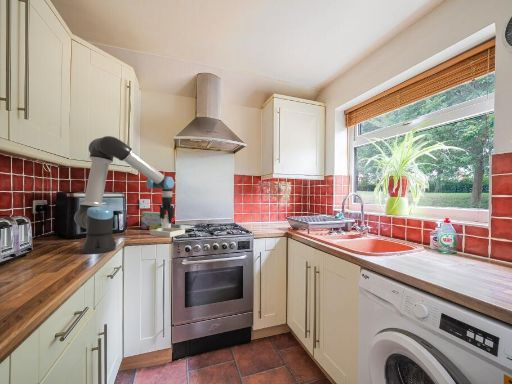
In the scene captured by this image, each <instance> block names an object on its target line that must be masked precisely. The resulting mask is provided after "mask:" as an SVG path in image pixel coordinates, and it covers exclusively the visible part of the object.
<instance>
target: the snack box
mask: <svg viewBox="0 0 512 384" xmlns="http://www.w3.org/2000/svg"><path fill="white" fill-rule="evenodd" d="M140 225H141V227H140V228H141V230H147V229H149V231H150V230H153V229H159V228H162V218H160V211H158V212H157V211H141V223H140Z"/></svg>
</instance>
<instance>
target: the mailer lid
mask: <svg viewBox="0 0 512 384" xmlns="http://www.w3.org/2000/svg"><path fill="white" fill-rule="evenodd" d="M195 227H196V226H195V225H186V224H177V223H176V224H175V223H171V228H172V229H185V230H187V229H191V228H195ZM162 228H163V227H162Z"/></svg>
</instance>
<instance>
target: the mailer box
mask: <svg viewBox="0 0 512 384" xmlns="http://www.w3.org/2000/svg"><path fill="white" fill-rule="evenodd" d="M185 234H186V229H172V228H159V229H153V230H149V236H155V237H156V236H157V237H163V238H164V237H165V238H172V237H177V236H181V235H185Z"/></svg>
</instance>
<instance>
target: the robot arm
mask: <svg viewBox="0 0 512 384" xmlns="http://www.w3.org/2000/svg"><path fill="white" fill-rule="evenodd" d="M88 152H89V159H90V161H91V164H90V170H89V173H88V174H89V175H88V178H87V179H88V180H87V184H86V190H85V194H84V199H83V202H80V204H79V207H78V210H77V211H76V212H75V214H74V218H73V219H74V222H75V223H76V225H77V226H79V227H80V228H83V229H86V238H85V240H84V243H83V244H82V246H81V247H82V248H81V253H82V254H85V255H86V254H89V255H91V254H92V255H94V254H102V253H109V252H113V251H115V250H116V249H117V245H116V241H115V239H114V235H113V228H114V209H113V208H111V207H108V206H104V204H103V198H104V194H105V193H104V192H105V188H106V182H107V178H108V172H109V168H110V165H111V164H112V163H113V162H114V158H116V159H117V160H119V161H121V162H125V163H126V164H127V165H129V166H130V167H132V168H134V170H136V171H137V172H139V173H141V174H142V175H143V176H145V177H146V178H147V179H146V182H145V186H146V188H147V189H151V190H161V202H162V203H161V204H159V205H158V206H159V212H160V218H162V227H163V220H164V219H165V218H164V215H168V225H167V228H171V224H172V219H174V218H175V208H176V206H175V205H174V204H172V202H173V188H174V187H175V181H174V179H173V177H172V176H165V175H164V174H163V173H161V172H160V171H159V170H158V169H156V168H155V167H153V166H152V165H151V164H150V163H148V161H146V160H145V159H143V158H142V157H140V156H139V155H138V154H137V153H136V152H134V151H133V148H132V147H130V146H129V145H127V144H126V143H125V142H124V141H122V140H121V139H119V138H117V137H115V136H111V135H108V136H107V135H106V136H103V137H98V138H95V139H93V140H92V141H90V143H89V145H88Z"/></svg>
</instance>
